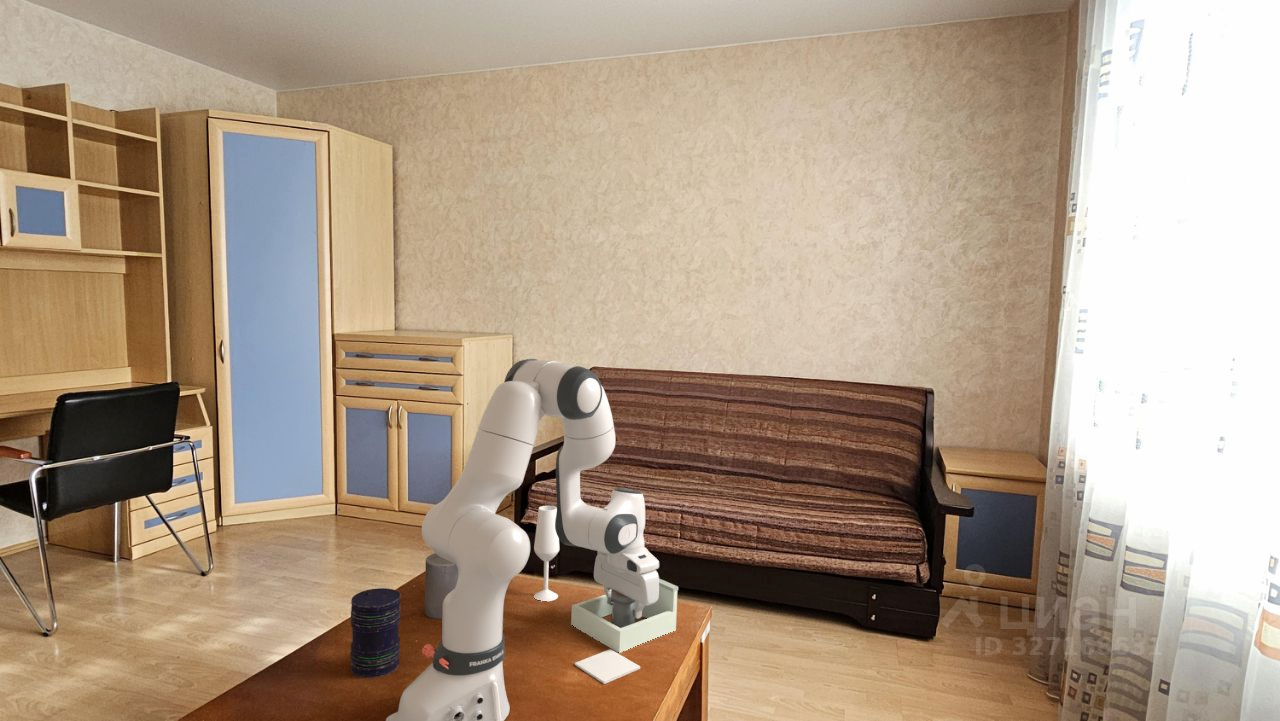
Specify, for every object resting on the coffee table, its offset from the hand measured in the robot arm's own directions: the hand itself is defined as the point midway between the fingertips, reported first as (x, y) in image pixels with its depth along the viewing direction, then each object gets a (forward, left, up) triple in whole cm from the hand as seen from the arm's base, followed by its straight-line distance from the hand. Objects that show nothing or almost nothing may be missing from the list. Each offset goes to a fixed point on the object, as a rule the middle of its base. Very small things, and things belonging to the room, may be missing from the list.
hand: (623, 610), depth 170 cm
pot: (0, 0, -4) cm, 4 cm away
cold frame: (0, 0, -4) cm, 4 cm away
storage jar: (-53, +19, -5) cm, 56 cm away
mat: (-15, -12, -4) cm, 20 cm away
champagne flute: (-4, +27, -5) cm, 28 cm away
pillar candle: (-29, +35, -5) cm, 46 cm away
